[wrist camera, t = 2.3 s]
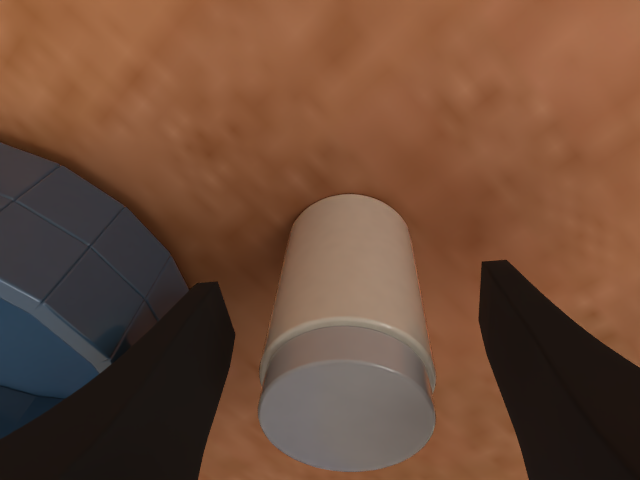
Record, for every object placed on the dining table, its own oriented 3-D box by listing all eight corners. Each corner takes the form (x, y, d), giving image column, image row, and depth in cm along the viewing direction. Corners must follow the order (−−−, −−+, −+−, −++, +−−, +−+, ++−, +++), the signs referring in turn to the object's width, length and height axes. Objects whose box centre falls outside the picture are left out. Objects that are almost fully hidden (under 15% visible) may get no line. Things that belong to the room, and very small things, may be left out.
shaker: (378, 309, 16) (389, 494, 11) (272, 271, 16) (227, 447, 10) (434, 220, 14) (483, 394, 9) (314, 173, 14) (286, 329, 8)
